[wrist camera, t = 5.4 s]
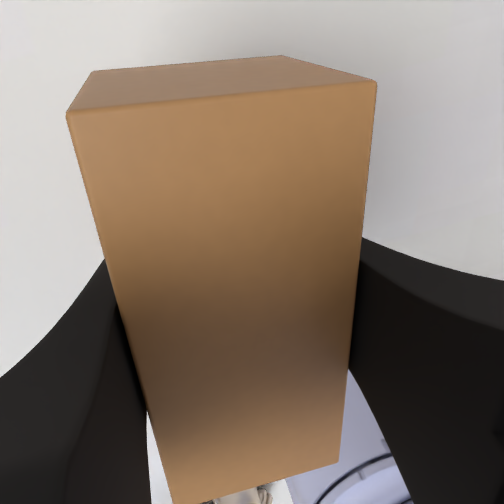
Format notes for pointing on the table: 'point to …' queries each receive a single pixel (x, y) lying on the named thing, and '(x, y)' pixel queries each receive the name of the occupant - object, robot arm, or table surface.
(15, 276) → the table surface
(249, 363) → the cardboard box
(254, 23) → the table surface
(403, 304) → the robot arm
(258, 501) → the ornament
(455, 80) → the table surface
